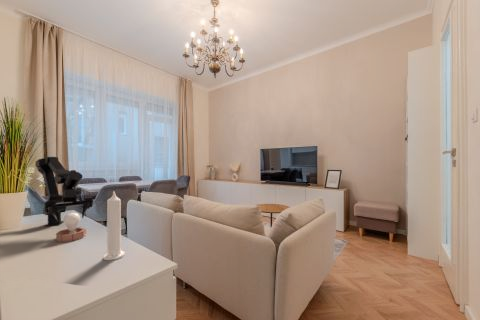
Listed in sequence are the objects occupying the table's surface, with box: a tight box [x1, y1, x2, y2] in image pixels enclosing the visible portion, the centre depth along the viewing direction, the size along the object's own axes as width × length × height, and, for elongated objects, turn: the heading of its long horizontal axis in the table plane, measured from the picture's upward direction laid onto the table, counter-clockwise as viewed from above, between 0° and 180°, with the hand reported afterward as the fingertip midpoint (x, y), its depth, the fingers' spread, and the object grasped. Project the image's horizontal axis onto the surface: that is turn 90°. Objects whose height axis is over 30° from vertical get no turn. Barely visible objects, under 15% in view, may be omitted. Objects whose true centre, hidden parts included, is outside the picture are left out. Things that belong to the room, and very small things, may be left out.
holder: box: [55, 226, 87, 243], centre depth 104 cm, size 10×10×3 cm
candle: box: [103, 190, 125, 261], centre depth 84 cm, size 7×7×25 cm
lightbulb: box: [62, 212, 81, 234], centre depth 104 cm, size 6×6×11 cm
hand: (70, 219), depth 105 cm, fingers open, 9 cm apart
